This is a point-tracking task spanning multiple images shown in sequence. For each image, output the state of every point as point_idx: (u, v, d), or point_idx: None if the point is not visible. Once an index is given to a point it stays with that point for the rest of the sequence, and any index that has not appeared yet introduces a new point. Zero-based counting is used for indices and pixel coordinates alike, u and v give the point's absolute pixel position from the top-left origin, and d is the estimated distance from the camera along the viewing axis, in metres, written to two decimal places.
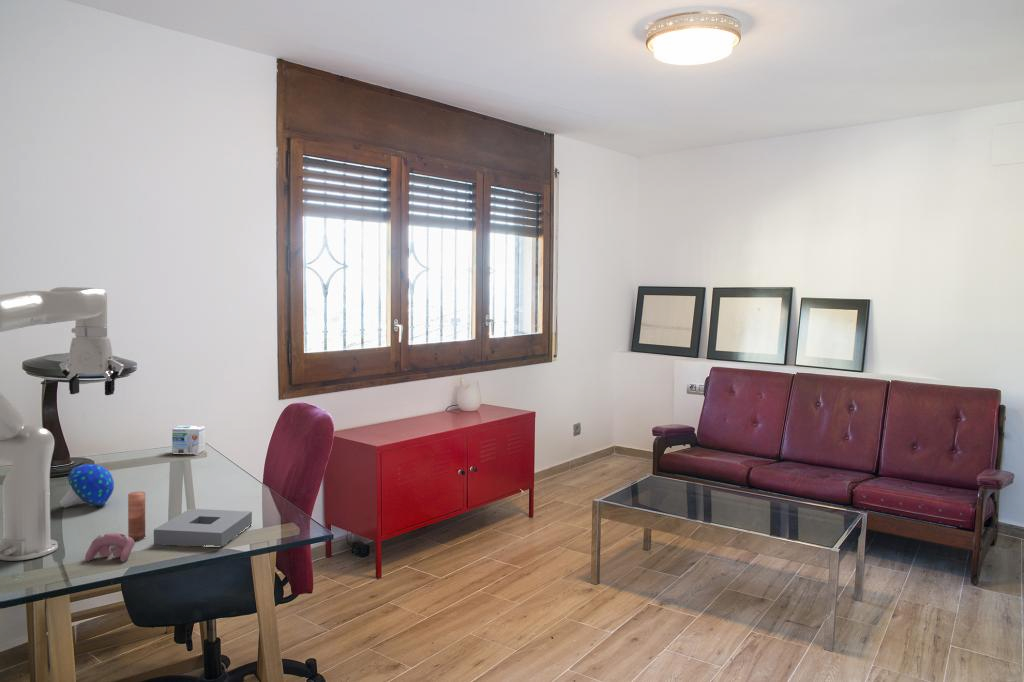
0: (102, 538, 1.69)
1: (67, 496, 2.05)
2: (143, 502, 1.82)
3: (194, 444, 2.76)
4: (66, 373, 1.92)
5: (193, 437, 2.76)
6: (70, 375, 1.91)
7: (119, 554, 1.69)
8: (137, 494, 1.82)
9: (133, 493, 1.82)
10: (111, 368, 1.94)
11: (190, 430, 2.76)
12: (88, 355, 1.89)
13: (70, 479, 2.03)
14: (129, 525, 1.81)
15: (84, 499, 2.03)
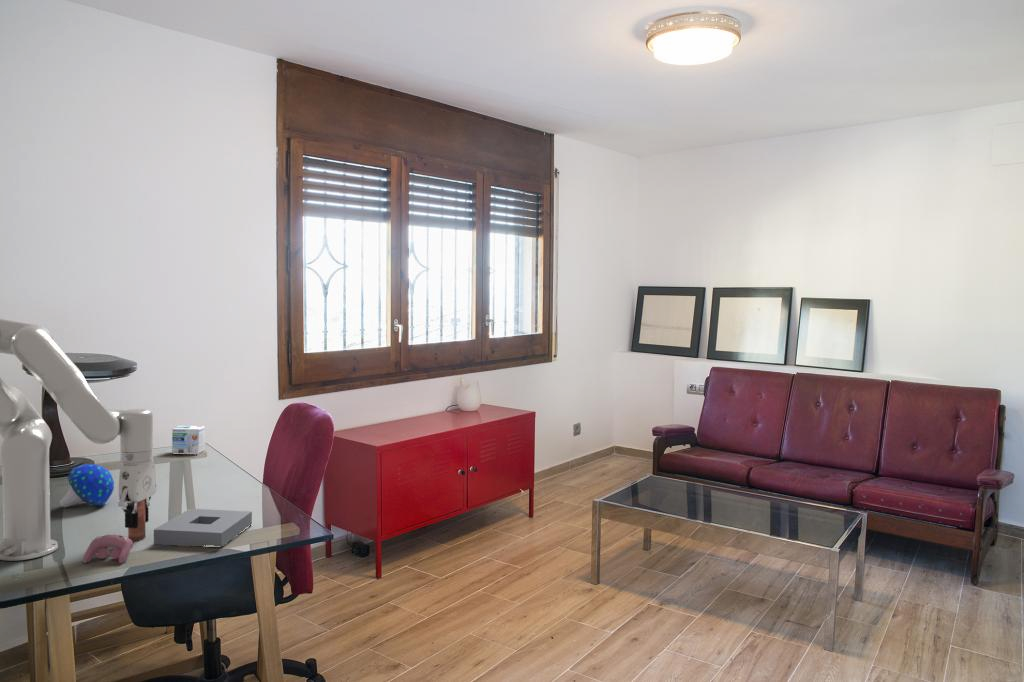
0: (100, 539, 1.68)
1: (67, 496, 2.05)
2: (143, 502, 1.82)
3: (194, 444, 2.76)
4: (130, 508, 1.79)
5: (193, 437, 2.76)
6: (134, 508, 1.80)
7: (117, 555, 1.68)
8: None
9: None
10: None
11: (190, 430, 2.76)
12: (148, 478, 1.83)
13: (70, 479, 2.03)
14: None
15: (84, 499, 2.03)
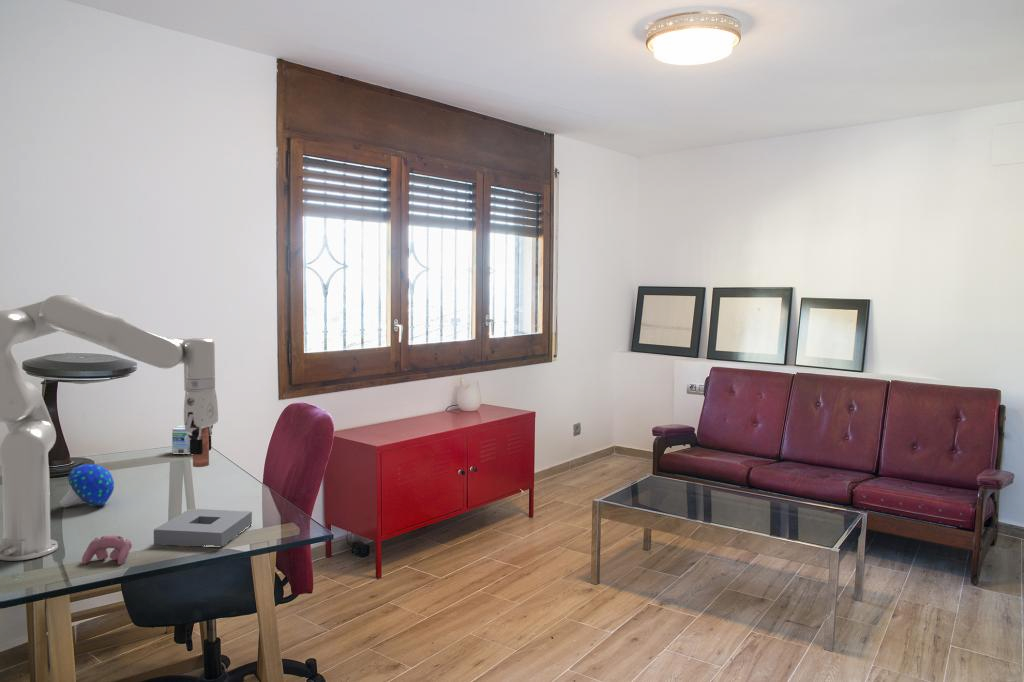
0: (99, 540, 1.67)
1: (67, 496, 2.05)
2: (207, 429, 1.85)
3: None
4: (195, 434, 1.81)
5: None
6: (199, 434, 1.82)
7: (116, 556, 1.68)
8: None
9: None
10: None
11: None
12: (211, 406, 1.86)
13: (70, 479, 2.03)
14: None
15: (84, 499, 2.03)
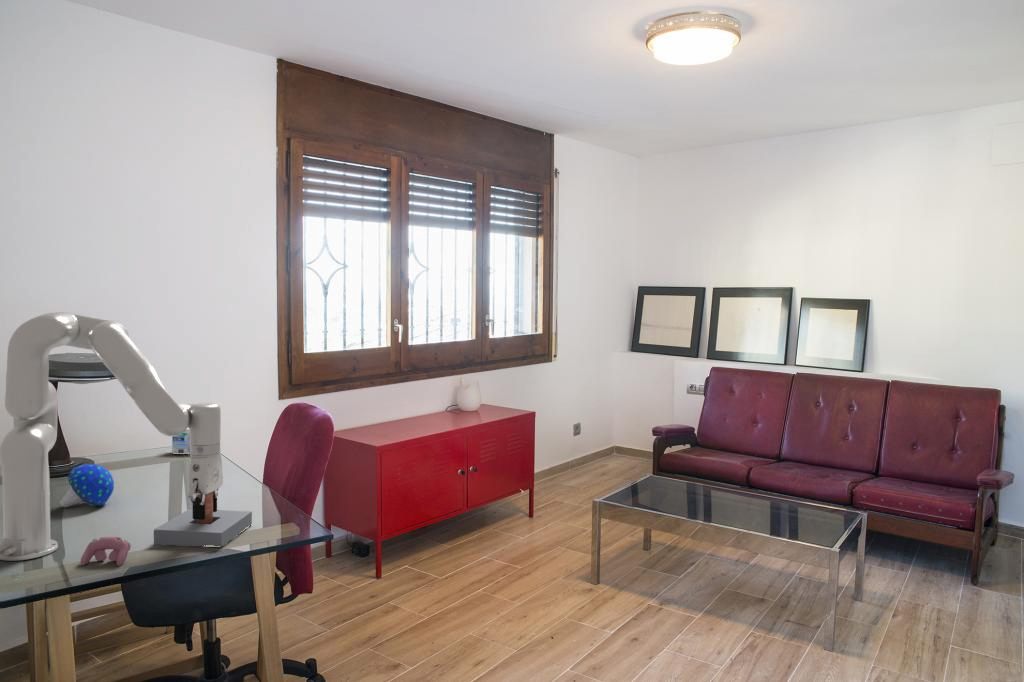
0: (98, 541, 1.67)
1: (67, 496, 2.05)
2: (211, 499, 1.86)
3: None
4: (198, 500, 1.82)
5: None
6: (202, 500, 1.83)
7: (115, 558, 1.67)
8: None
9: None
10: None
11: None
12: (216, 471, 1.87)
13: (70, 479, 2.03)
14: (198, 522, 1.85)
15: (84, 499, 2.03)
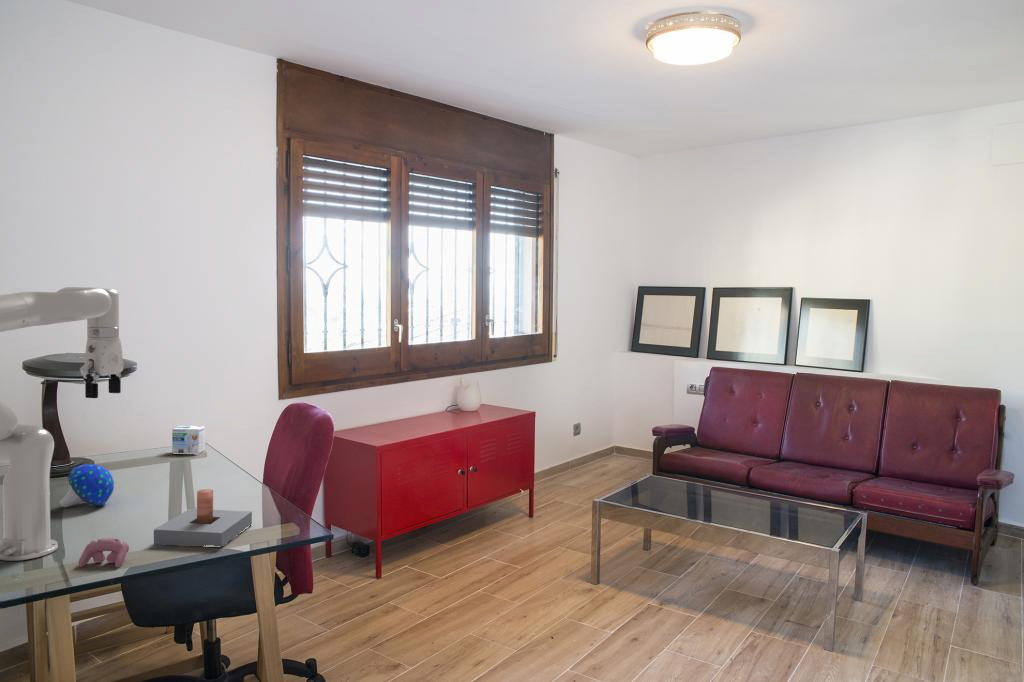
0: (96, 543, 1.65)
1: (67, 496, 2.05)
2: (211, 499, 1.86)
3: (194, 444, 2.76)
4: (90, 377, 1.84)
5: (193, 437, 2.76)
6: (95, 378, 1.85)
7: (113, 559, 1.66)
8: (206, 492, 1.86)
9: (202, 491, 1.86)
10: None
11: (190, 430, 2.76)
12: (114, 355, 1.91)
13: (70, 479, 2.03)
14: (198, 522, 1.85)
15: (84, 499, 2.03)
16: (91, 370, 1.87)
